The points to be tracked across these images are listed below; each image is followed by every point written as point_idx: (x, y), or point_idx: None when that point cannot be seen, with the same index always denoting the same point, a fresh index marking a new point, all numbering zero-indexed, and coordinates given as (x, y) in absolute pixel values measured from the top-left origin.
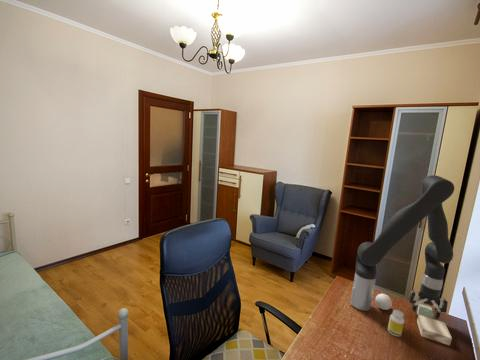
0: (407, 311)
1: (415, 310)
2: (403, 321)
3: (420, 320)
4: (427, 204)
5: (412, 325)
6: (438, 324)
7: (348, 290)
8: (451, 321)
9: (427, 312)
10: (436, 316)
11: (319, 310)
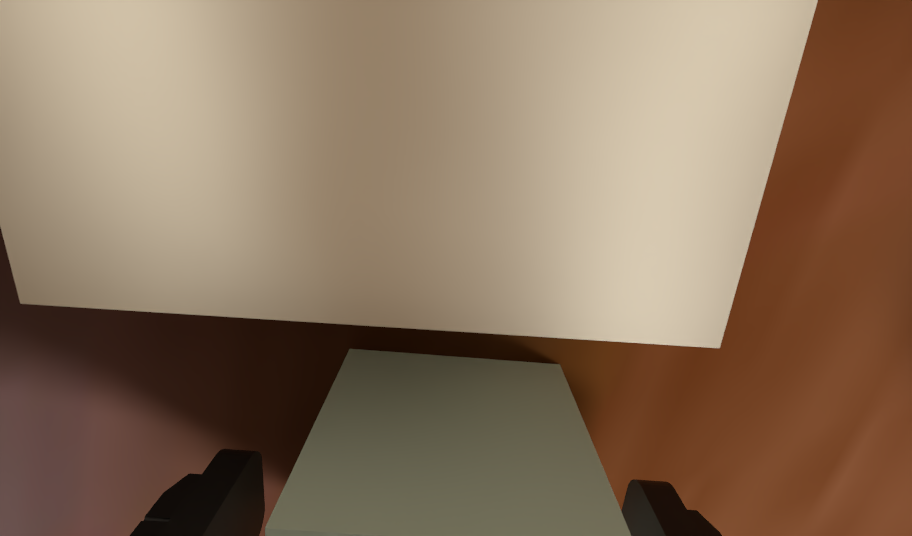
0: (702, 482)
1: (667, 515)
2: None
3: (810, 13)
4: None
5: None
6: (212, 90)
7: None
8: (23, 522)
9: (442, 517)
10: (219, 491)
11: None
